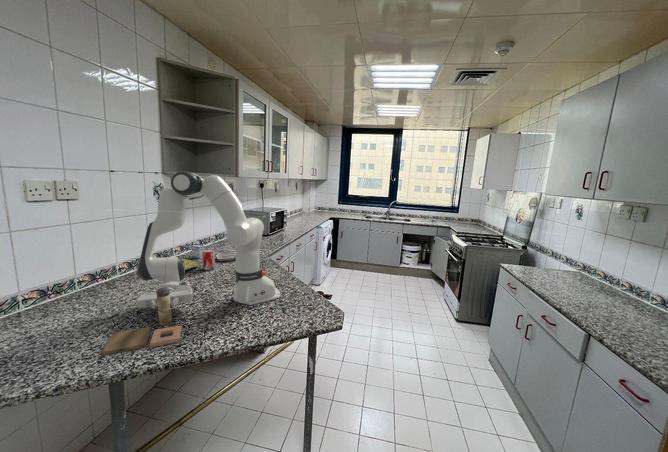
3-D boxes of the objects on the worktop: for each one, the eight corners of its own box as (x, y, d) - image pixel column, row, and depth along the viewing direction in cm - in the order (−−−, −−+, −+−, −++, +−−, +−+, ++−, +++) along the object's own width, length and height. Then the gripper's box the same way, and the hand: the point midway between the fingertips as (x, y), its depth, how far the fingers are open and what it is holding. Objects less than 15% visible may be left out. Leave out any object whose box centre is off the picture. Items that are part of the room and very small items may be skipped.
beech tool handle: (172, 318, 115) (169, 287, 112) (171, 324, 111) (168, 291, 108) (160, 320, 113) (157, 288, 110) (158, 326, 109) (155, 292, 106)
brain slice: (240, 262, 191) (240, 257, 191) (214, 263, 186) (214, 259, 186) (241, 254, 210) (241, 250, 209) (217, 255, 205) (217, 251, 204)
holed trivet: (182, 328, 108) (181, 325, 108) (179, 341, 100) (179, 337, 99) (154, 333, 104) (154, 329, 104) (150, 347, 96) (149, 343, 96)
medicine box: (191, 257, 197) (190, 245, 195) (196, 256, 201) (196, 244, 199) (199, 259, 194) (199, 247, 192) (205, 257, 198) (204, 245, 196)
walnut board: (152, 329, 107) (151, 326, 106) (145, 347, 96) (145, 344, 96) (113, 335, 102) (113, 332, 102) (102, 355, 91) (101, 352, 91)
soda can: (210, 271, 171) (209, 252, 169) (200, 270, 172) (199, 251, 170) (217, 267, 178) (216, 249, 175) (207, 266, 179) (206, 248, 177)
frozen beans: (178, 267, 158) (141, 263, 163) (178, 277, 159) (142, 272, 164) (202, 258, 178) (169, 255, 183) (203, 267, 179) (170, 263, 184)
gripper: (139, 288, 117) (131, 302, 105) (193, 282, 126) (191, 294, 113) (141, 302, 119) (133, 318, 106) (194, 295, 127) (192, 309, 114)
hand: (163, 306), depth 110 cm, fingers closed on beech tool handle, 4 cm apart
